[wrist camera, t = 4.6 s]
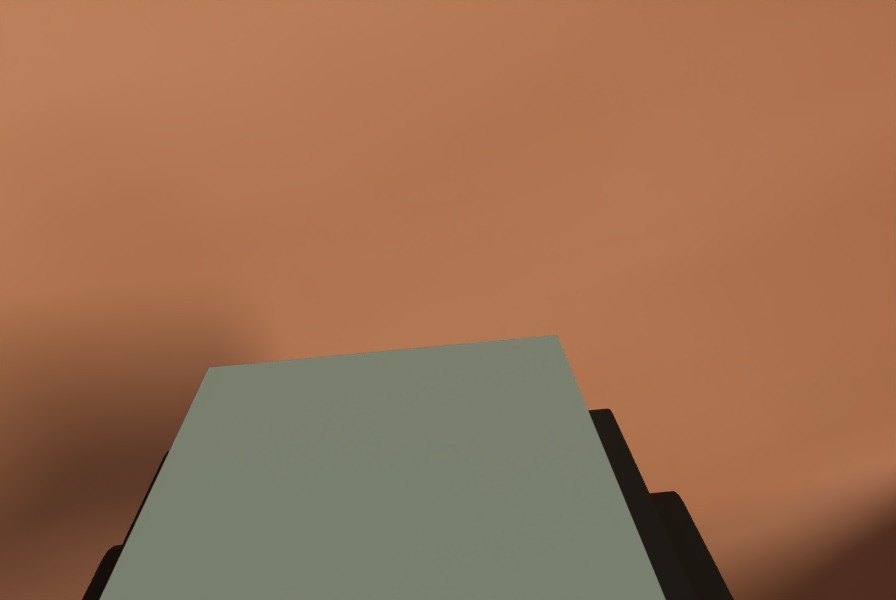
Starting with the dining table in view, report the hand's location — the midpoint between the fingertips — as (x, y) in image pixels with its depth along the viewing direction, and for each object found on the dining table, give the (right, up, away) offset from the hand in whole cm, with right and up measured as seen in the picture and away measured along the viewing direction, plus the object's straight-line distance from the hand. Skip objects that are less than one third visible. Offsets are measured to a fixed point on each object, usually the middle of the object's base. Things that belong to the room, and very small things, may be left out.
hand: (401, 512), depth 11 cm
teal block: (0, 0, +1) cm, 1 cm away
